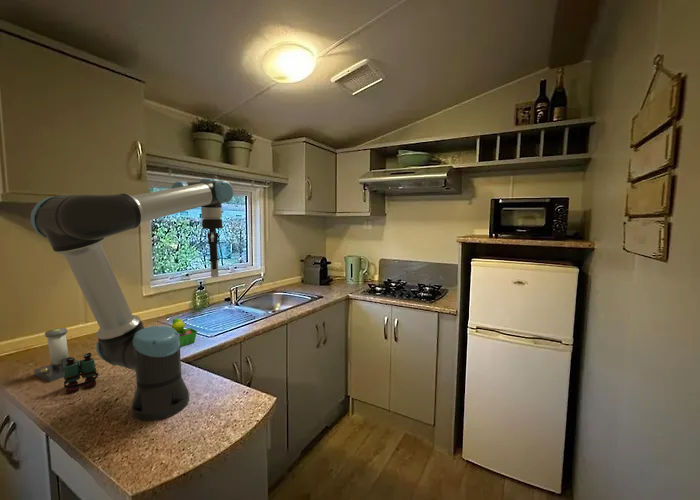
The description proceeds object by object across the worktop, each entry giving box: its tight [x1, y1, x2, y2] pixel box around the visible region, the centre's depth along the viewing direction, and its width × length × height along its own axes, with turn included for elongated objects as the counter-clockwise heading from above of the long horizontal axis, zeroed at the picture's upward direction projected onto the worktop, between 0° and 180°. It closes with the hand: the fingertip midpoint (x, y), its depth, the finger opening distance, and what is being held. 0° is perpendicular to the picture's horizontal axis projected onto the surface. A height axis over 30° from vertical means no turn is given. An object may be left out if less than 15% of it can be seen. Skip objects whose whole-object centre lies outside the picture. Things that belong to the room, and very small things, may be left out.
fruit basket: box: [171, 317, 198, 347], centre depth 146 cm, size 11×9×11 cm
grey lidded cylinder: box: [44, 327, 70, 365], centre depth 119 cm, size 6×6×12 cm
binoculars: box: [63, 352, 99, 395], centre depth 109 cm, size 9×11×10 cm
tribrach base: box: [33, 359, 80, 383], centre depth 120 cm, size 11×11×6 cm
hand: (214, 276), depth 134 cm, fingers closed
